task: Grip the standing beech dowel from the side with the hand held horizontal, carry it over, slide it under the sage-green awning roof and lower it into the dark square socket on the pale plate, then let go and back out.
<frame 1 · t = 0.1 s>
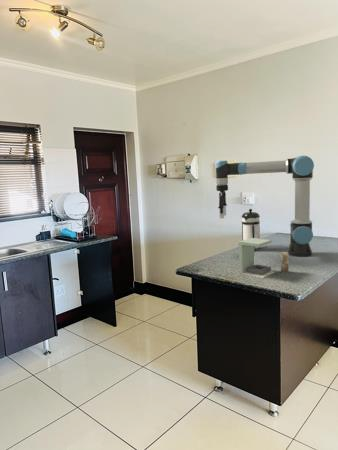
hand: (223, 216, 228), 28 cm above the worktop, fingers open, 13 cm apart
awning socket: (259, 272, 196), on the worktop
coffee press: (251, 249, 253), on the worktop
peg: (284, 271, 194), on the worktop
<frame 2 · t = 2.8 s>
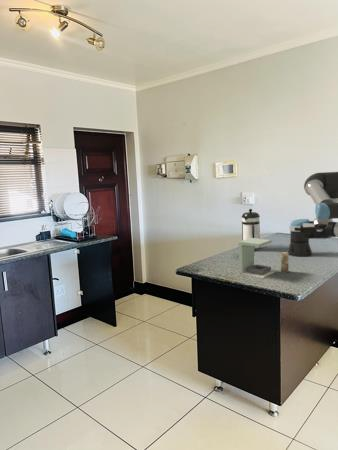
hand: (296, 226, 185), 26 cm above the worktop, fingers open, 13 cm apart
nothing on the worktop moved.
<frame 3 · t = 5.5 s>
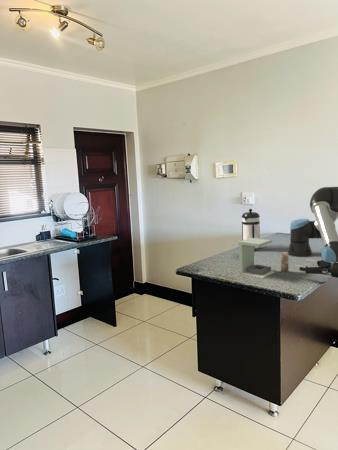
hand: (299, 264, 187), 6 cm above the worktop, fingers open, 13 cm apart
nothing on the worktop moved.
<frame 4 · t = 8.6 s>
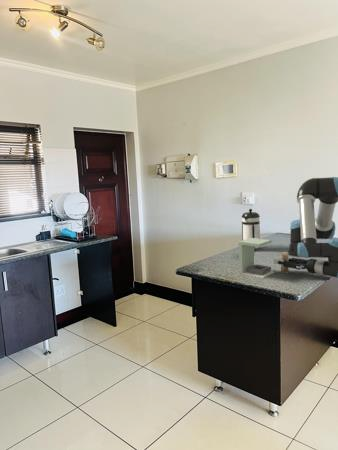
hand: (275, 260, 197), 6 cm above the worktop, fingers closed on peg, 4 cm apart
peg: (284, 271, 194), on the worktop, touching gripper
everything else where it was.
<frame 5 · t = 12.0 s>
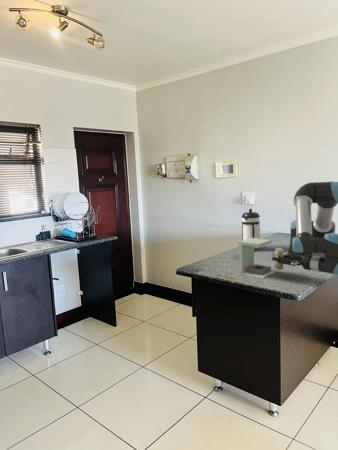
hand: (270, 256, 189), 10 cm above the worktop, fingers closed on peg, 4 cm apart
peg: (279, 268, 186), point 4 cm above the worktop, touching gripper
everything else where it was.
when the fingers open (8 cm above the worktop, at t = 15.7 s): peg drops 2 cm, resting on awning socket.
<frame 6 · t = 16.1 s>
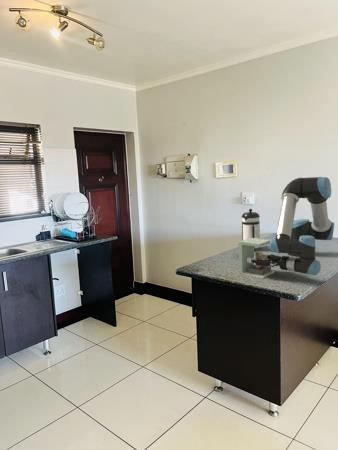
hand: (252, 257, 198), 8 cm above the worktop, fingers open, 10 cm apart
peg: (259, 271, 196), resting on awning socket
everything else where it was.
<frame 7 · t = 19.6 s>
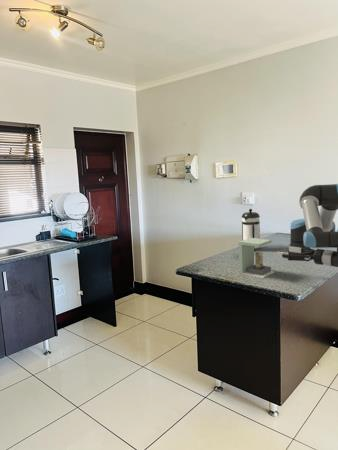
hand: (283, 251, 183), 14 cm above the worktop, fingers open, 13 cm apart
nothing on the worktop moved.
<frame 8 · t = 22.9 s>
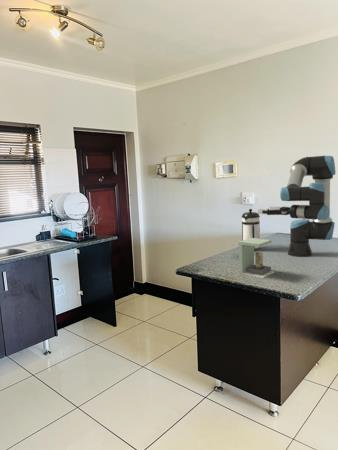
hand: (264, 210, 204), 34 cm above the worktop, fingers open, 13 cm apart
nothing on the worktop moved.
at the end: peg 0.1 cm off-centre on the awning socket, point 0.4 cm above the awning socket's base; peg tilted 0°; the gripper is holding nothing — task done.
